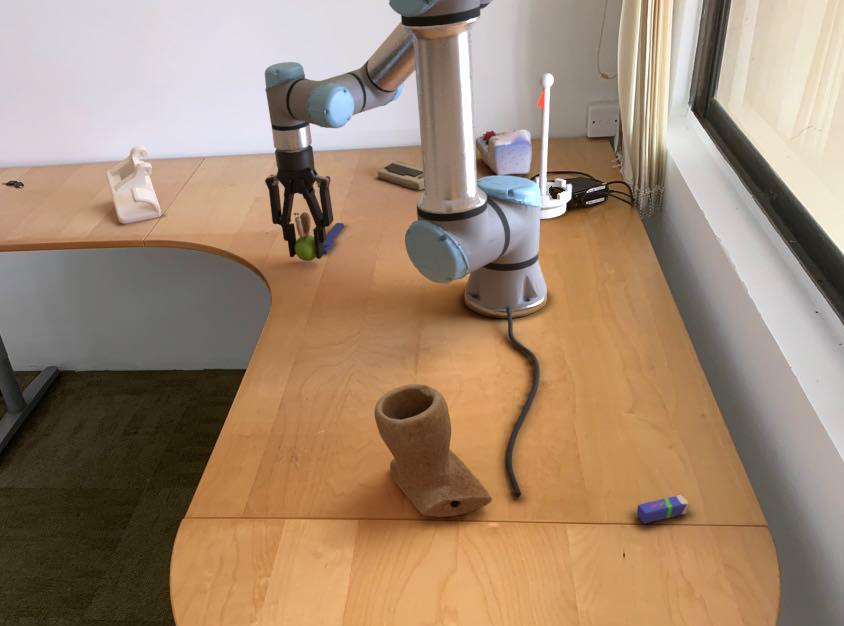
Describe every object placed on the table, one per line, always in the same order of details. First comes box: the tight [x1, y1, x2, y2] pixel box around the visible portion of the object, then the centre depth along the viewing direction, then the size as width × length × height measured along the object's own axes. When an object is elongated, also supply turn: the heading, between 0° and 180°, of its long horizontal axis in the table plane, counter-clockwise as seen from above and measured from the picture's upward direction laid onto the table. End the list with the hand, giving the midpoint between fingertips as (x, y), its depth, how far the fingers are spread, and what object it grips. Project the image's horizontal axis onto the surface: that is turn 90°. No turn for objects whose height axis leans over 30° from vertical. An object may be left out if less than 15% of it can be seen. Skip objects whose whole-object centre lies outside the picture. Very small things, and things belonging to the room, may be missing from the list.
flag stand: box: [534, 72, 573, 220], centre depth 185 cm, size 13×13×30 cm
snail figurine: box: [293, 211, 317, 262], centre depth 176 cm, size 5×6×12 cm
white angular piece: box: [105, 145, 163, 225], centre depth 215 cm, size 20×11×13 cm, turn 19°
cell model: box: [475, 129, 533, 176], centre depth 216 cm, size 13×11×20 cm
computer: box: [377, 160, 425, 191], centre depth 216 cm, size 16×8×3 cm, turn 40°
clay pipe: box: [373, 383, 493, 518], centre depth 111 cm, size 15×12×15 cm
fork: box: [323, 222, 345, 255], centre depth 190 cm, size 15×4×1 cm, turn 161°
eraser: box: [637, 494, 690, 524], centre depth 107 cm, size 2×6×2 cm, turn 103°
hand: (307, 255), depth 179 cm, fingers closed on snail figurine, 5 cm apart
